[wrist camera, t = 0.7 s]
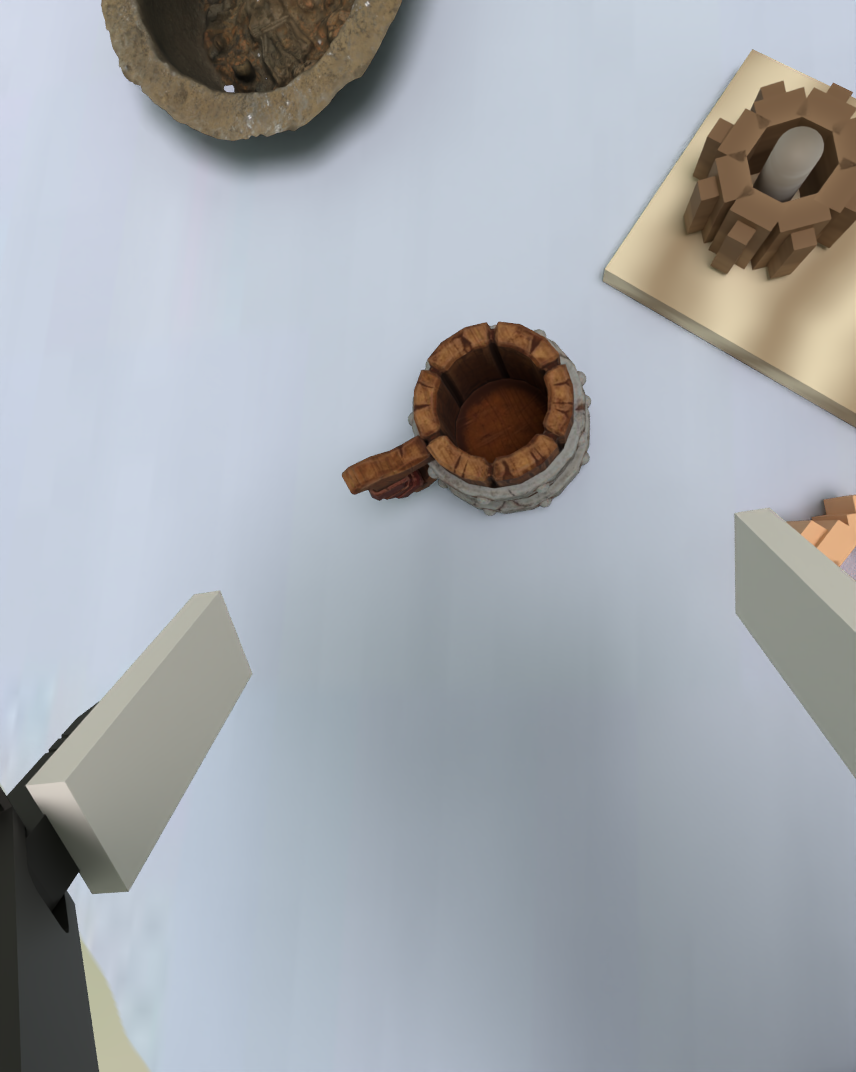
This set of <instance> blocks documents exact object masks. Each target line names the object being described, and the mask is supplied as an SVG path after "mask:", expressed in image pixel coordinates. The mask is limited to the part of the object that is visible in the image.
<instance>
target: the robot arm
mask: <svg viewBox="0 0 856 1072" xmlns="http://www.w3.org/2000/svg"><path fill="white" fill-rule="evenodd" d="M734 515H735V611H736V614H737V616H738V617H739V619H740V620H741V621H742V623H743V624H744V625H745V627H746V628H747V630H748V631H749V632H750V634H751V635H752V636H753V638H754V639H755V641H756V642H757V643H758V645H759V646H760V647H761V649H762V650H763V652H764V653H765V654H766V656H767V657H768V658H769V660H770V661H771V663H772V664H773V665H774V667H775V668H776V670H777V671H778V672H779V674H780V675H781V676H782V678H783V679H784V681H785V682H786V683H787V685H788V686H789V687H790V689H791V690H792V692H793V693H794V694H795V696H796V697H797V698H798V700H799V701H800V703H801V704H802V705H803V707H804V708H805V709H806V711H807V712H808V714H809V715H810V716H811V718H812V719H813V720H814V722H815V723H816V725H817V726H818V727H819V729H820V730H821V732H822V733H823V734H824V736H825V737H826V738H827V740H828V741H829V743H830V744H831V745H832V747H833V748H834V749H835V751H836V752H837V754H838V755H839V756H840V758H841V759H842V760H843V762H844V763H845V765H846V766H847V767H848V769H849V770H850V771H851V773H852V774H853V776H854V777H855V778H856V581H855V580H854V579H853V578H851V577H850V576H849V575H848V574H847V573H846V572H844V571H843V570H842V569H841V568H840V567H838V566H837V565H836V564H835V563H834V562H833V561H831V560H830V559H829V558H828V557H827V556H825V555H824V554H823V553H822V552H821V551H820V550H818V549H817V548H816V547H815V546H814V545H812V544H811V543H810V542H809V541H808V540H807V539H805V538H804V537H803V536H802V535H801V534H800V533H798V532H797V531H796V530H795V529H794V528H792V527H791V526H790V525H789V524H788V523H787V522H785V521H784V520H783V519H782V518H781V517H779V516H778V515H777V514H776V513H775V512H774V511H772V510H771V509H770V508H765V509H758V510H751V511H745V512H738V513H734ZM251 675H252V672H251V669H250V667H249V664H248V661H247V659H246V656H245V654H244V651H243V648H242V646H241V643H240V641H239V638H238V636H237V633H236V630H235V628H234V625H233V623H232V620H231V617H230V615H229V612H228V610H227V607H226V604H225V602H224V599H223V597H222V594H221V592H220V591H214V592H207V593H201V594H194V595H193V596H192V597H191V599H190V600H189V601H188V602H187V603H186V604H185V605H184V607H183V608H182V609H181V610H180V611H179V612H178V613H177V614H176V616H175V617H174V618H173V619H172V620H171V621H170V622H169V623H168V625H167V626H166V627H165V628H164V629H163V630H162V631H161V633H160V634H159V635H158V636H157V637H156V638H155V639H154V640H153V642H152V643H151V644H150V645H149V646H148V647H147V648H146V650H145V651H144V652H143V653H142V654H141V655H140V656H139V657H138V659H137V660H136V661H135V662H134V663H133V664H132V665H131V667H130V668H129V669H128V670H127V671H126V672H125V673H124V674H123V676H122V677H121V678H120V679H119V680H118V681H117V682H116V684H115V685H114V686H113V687H112V688H111V689H110V690H109V691H108V693H107V694H106V695H105V696H104V697H103V698H102V699H101V700H100V702H98V703H96V704H95V705H94V706H92V707H91V708H90V709H88V710H87V711H86V712H84V713H83V714H82V715H80V716H79V717H78V718H77V719H76V720H75V721H74V722H73V723H72V724H71V725H70V726H69V728H68V729H67V730H66V731H65V732H64V733H63V734H62V735H61V736H62V738H61V739H58V740H57V741H56V742H55V743H54V744H53V745H52V746H51V748H50V749H49V753H45V754H44V755H43V756H42V758H41V759H40V760H39V761H38V762H37V763H36V764H35V765H34V766H33V768H32V769H31V770H30V771H29V772H28V773H27V774H26V775H25V776H24V778H23V779H22V780H21V781H20V782H19V783H18V784H17V785H16V786H15V788H14V789H13V790H12V791H11V792H10V793H9V794H8V795H7V796H6V795H5V793H4V792H3V790H2V788H1V787H0V1072H99V1069H98V1061H97V1055H96V1047H95V1041H94V1034H93V1027H92V1020H91V1013H90V1007H89V1000H88V992H87V986H86V979H85V972H84V965H83V958H82V951H81V944H80V937H79V930H78V923H77V916H76V910H75V904H74V902H73V900H72V898H71V896H70V895H69V893H68V892H67V889H68V887H69V886H70V884H71V883H72V881H73V880H74V878H75V877H76V875H77V874H78V872H79V873H80V875H81V877H82V878H83V880H84V881H85V883H86V885H87V886H88V888H89V889H90V891H91V893H92V894H99V893H114V892H129V890H130V888H131V886H132V885H133V883H134V881H135V879H136V878H137V876H138V874H139V872H140V871H141V869H142V867H143V865H144V864H145V862H146V860H147V858H148V857H149V855H150V853H151V851H152V850H153V848H154V846H155V844H156V842H157V841H158V839H159V837H160V835H161V834H162V832H163V830H164V828H165V827H166V825H167V823H168V821H169V820H170V818H171V816H172V814H173V813H174V811H175V809H176V807H177V806H178V804H179V802H180V800H181V799H182V797H183V795H184V793H185V791H186V790H187V788H188V786H189V784H190V783H191V781H192V779H193V777H194V776H195V774H196V772H197V770H198V769H199V767H200V765H201V763H202V762H203V760H204V758H205V756H206V755H207V753H208V751H209V749H210V747H211V746H212V744H213V742H214V740H215V739H216V737H217V735H218V733H219V732H220V730H221V728H222V726H223V725H224V723H225V721H226V719H227V718H228V716H229V714H230V712H231V711H232V709H233V707H234V705H235V703H236V702H237V700H238V698H239V696H240V695H241V693H242V691H243V689H244V688H245V686H246V684H247V682H248V681H249V679H250V677H251Z"/></svg>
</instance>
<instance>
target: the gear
mask: <svg viewBox="0 0 856 1072" xmlns="http://www.w3.org/2000/svg"><path fill="white" fill-rule="evenodd" d="M824 505H825V510H826V515H821V516H815V517H812V520H806V521H787V523H788V524H789V525H790V526H791V527H792V528H794V529H795V530H796V531H797V532H798V533H800V534H801V535H802V536H803V537H804V538H805V539H807V540H808V541H809V542H810V543H811V544H812V545H814V546H815V547H816V548H817V549H818V550H820V551H821V552H822V553H823V554H824V555H825V556H827V557H828V558H829V559H830V560H831V561H833V562H834V563H835V564H836V565H837V566H838V567H840V566H841V564H842V563H843V562H844V561H845V559H846V558H847V557H848V555H849V554H850V553H851V552H852V550H853V549H854V548H855V546H856V495H849V496H842V497H836V498H831V499H825V500H824Z"/></svg>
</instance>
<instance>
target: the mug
mask: <svg viewBox="0 0 856 1072" xmlns="http://www.w3.org/2000/svg"><path fill="white" fill-rule="evenodd" d="M585 382H586V376H585V374H584V373H583V372H580V371H577V370H576V367H575V365H574V364H573V363H572V361H571V360H570V359H569V358H568V357H567V356H566V355H565V353H564V352H563V351H562V350H561V349H560V348H559V347H558V345H557V344H556V343H555V342H553V341H551V340H549V339H548V338H546V334H545V332H544V331H542V330H540V329H538V330H535V331H532V330H530V329H528V328H527V327H525V326H523V325H521V324H514V323H506V322H498V323H497V325H493V326H489V325H488V324H487V322H486V323H481V324H477V325H473V326H469V327H465V328H463V329H462V330H460V331H458V332H457V333H455V334H454V335H452V336H451V337H449V338H447V339H446V340H444V341H443V342H441V343H440V345H439V346H438V347H437V348H436V350H435V351H434V352H433V353H432V354H431V356H430V357H429V358H428V359H427V362H426V368H425V370H421V373H420V376H419V378H418V381H417V384H416V386H415V389H414V398H413V412H412V413H411V414H410V415H409V417H408V422H409V424H410V425H411V426H412V429H413V432H414V435H415V437H414V438H412V439H410V440H409V441H407V442H405V443H404V444H402V445H400V446H398V447H396V448H394V449H392V450H390V451H387V452H384V453H381V454H377V455H374V456H370V457H368V458H366V459H364V460H362V461H360V462H358V463H356V464H354V465H352V466H350V467H348V468H347V469H346V470H345V471H344V472H343V473H342V477H343V479H344V481H345V482H346V484H347V486H348V488H349V490H350V491H351V493H352V494H354V495H355V494H358V493H361V492H363V491H366V490H369V492H370V494H371V496H372V498H374V499H377V500H379V501H380V500H382V499H386V500H388V499H392V498H398V499H400V498H404V497H408V496H409V495H410V494H412V493H413V492H419V491H421V490H423V489H425V488H427V487H429V486H430V485H431V484H432V483H433V482H434V481H436V480H437V479H438V478H439V479H438V484H439V486H440V487H442V488H449V489H450V490H451V492H452V493H453V494H454V495H456V496H457V497H459V498H461V499H462V500H464V501H466V502H467V503H469V504H471V505H472V506H474V507H476V508H477V509H482V510H484V513H485V514H486V515H488V516H492V515H494V514H495V513H496V512H498V513H503V514H508V513H514V512H520V511H526V510H532V509H535V508H537V507H539V506H542V507H548V506H549V505H550V504H551V501H552V499H553V498H555V497H557V496H558V495H560V494H561V492H562V491H563V490H564V489H565V488H566V487H567V486H568V484H569V483H570V482H571V481H572V480H573V479H574V478H575V476H576V475H577V474H578V473H579V471H580V468H581V466H582V465H585V464H587V463H588V461H589V458H590V457H589V454H588V453H587V450H588V448H589V440H590V414H589V411H588V407H589V406H590V404H591V399H590V397H589V396H587V395H585V392H584V390H583V387H582V386H583V385H584V384H585Z"/></svg>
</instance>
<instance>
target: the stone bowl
mask: <svg viewBox="0 0 856 1072" xmlns="http://www.w3.org/2000/svg"><path fill="white" fill-rule="evenodd" d="M401 3H402V0H102V3H101V7H102V12H103V15H104V18H105V24H106V29H107V30H109V32H110V37H111V42H112V47H113V49H114V51H115V53H116V54H117V56H118V58H119V67H121V69H122V72H123V74H124V76H125V77H126V78H127V79H128V80H129V81H130V82H133V83H134V84H136V85H141V88H142V92H143V93H145V94H146V95H148V96H149V98H150V99H151V100H152V101H153V102H154V103H155V104H157V105H158V106H159V107H161V108H162V109H164V110H166V111H167V112H168V114H169V115H171V116H172V117H173V119H174V120H176V121H178V122H179V123H183V124H187V125H188V126H189V127H191V128H192V129H195V130H197V131H199V132H201V133H204V134H206V135H209V136H212V137H214V138H217V139H224V140H231V141H235V140H239V139H249V137H250V136H251V135H253V136H255V137H257V136H259V135H261V134H263V135H264V136H266V137H268V136H271V135H274V134H276V133H280V132H284V131H287V130H291V131H295V130H297V129H298V128H299V127H301V126H303V125H306V124H307V123H308V122H309V121H310V120H312V119H313V118H314V117H315V116H316V115H318V114H319V113H320V112H321V111H322V110H323V109H324V108H325V107H326V106H327V105H328V104H329V103H330V102H331V100H332V99H333V97H334V96H335V94H336V93H337V92H338V91H340V90H341V89H342V88H343V87H344V86H345V85H346V84H347V83H349V82H351V81H353V80H355V79H357V78H360V77H362V75H363V74H364V72H365V71H366V69H367V68H368V66H369V64H370V63H371V61H372V59H373V58H374V56H375V54H376V52H377V50H378V48H379V47H380V45H381V42H382V40H383V38H384V37H385V35H386V33H387V30H388V28H389V26H390V24H391V23H392V21H393V20H394V18H395V16H396V13H397V11H398V9H399V7H400V5H401ZM266 78H267V79H266ZM225 85H226V86H228V85H233V86H234V90H235V93H234V92H226V91H225V90H224V86H225Z"/></svg>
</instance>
